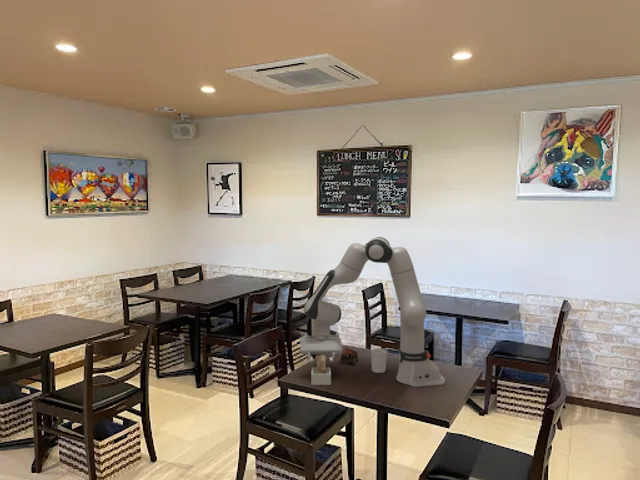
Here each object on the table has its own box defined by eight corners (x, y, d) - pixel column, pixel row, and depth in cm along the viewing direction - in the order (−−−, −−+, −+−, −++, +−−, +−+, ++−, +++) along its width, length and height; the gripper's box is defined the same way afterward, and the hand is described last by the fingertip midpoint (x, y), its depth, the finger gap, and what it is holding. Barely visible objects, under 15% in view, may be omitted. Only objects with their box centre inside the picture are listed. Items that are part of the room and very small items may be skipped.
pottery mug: (335, 361, 252) (340, 346, 255) (350, 368, 255) (355, 353, 257) (344, 362, 241) (349, 347, 244) (360, 369, 243) (365, 354, 246)
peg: (325, 379, 225) (325, 354, 224) (325, 382, 221) (325, 357, 220) (316, 379, 225) (316, 354, 224) (316, 382, 221) (317, 357, 220)
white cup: (386, 374, 233) (386, 354, 232) (370, 372, 234) (370, 353, 233) (387, 368, 240) (387, 349, 239) (371, 367, 242) (371, 348, 241)
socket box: (330, 377, 227) (330, 367, 227) (330, 384, 219) (330, 374, 218) (311, 377, 227) (311, 367, 227) (311, 384, 218) (311, 374, 218)
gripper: (299, 332, 229) (299, 359, 220) (341, 332, 230) (343, 358, 221) (299, 339, 234) (299, 365, 225) (341, 338, 234) (342, 364, 225)
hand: (321, 361), depth 223 cm, fingers open, 8 cm apart
